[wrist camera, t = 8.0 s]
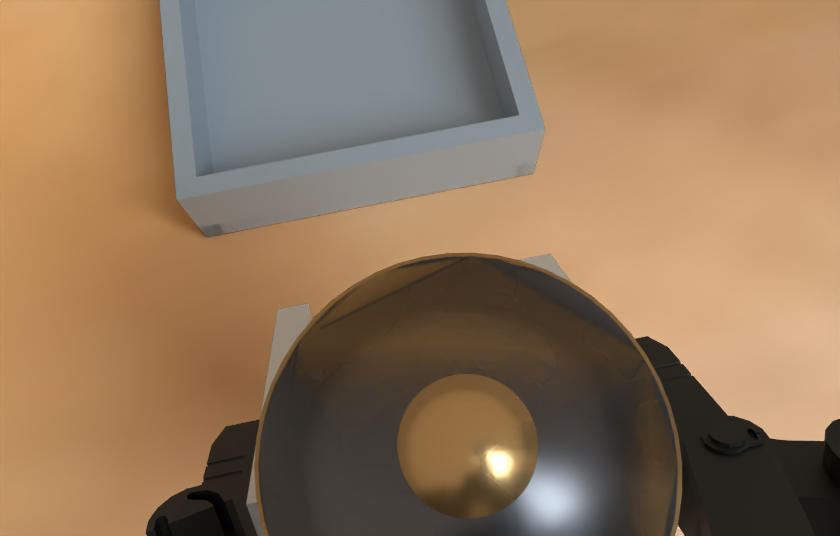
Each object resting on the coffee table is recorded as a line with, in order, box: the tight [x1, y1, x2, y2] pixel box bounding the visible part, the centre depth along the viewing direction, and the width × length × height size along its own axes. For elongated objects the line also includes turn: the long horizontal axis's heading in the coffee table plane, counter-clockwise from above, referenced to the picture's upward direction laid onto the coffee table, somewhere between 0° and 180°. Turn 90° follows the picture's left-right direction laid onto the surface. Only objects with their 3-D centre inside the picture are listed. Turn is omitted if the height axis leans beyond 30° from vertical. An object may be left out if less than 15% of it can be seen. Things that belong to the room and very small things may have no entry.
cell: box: [254, 253, 682, 536], centre depth 13 cm, size 5×5×12 cm
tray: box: [159, 0, 545, 237], centre depth 30 cm, size 14×14×4 cm
